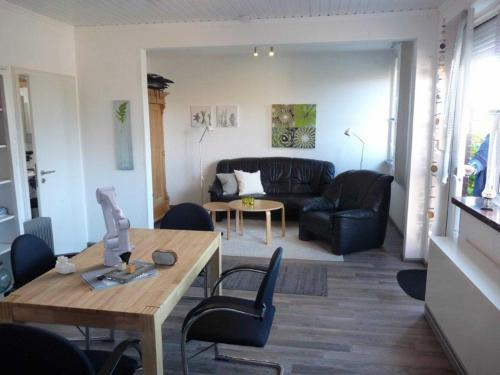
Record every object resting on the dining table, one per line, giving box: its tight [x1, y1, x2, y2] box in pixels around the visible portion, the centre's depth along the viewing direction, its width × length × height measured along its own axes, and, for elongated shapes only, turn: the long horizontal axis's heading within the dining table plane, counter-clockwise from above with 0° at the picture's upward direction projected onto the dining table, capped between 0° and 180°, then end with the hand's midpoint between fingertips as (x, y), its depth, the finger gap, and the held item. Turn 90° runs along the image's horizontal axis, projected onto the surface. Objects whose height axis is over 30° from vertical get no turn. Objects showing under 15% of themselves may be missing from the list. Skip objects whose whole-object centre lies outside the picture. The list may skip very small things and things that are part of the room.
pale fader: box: [117, 262, 126, 271], centre depth 217 cm, size 3×3×4 cm
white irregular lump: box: [55, 255, 77, 275], centre depth 218 cm, size 12×8×11 cm
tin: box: [151, 248, 179, 266], centre depth 229 cm, size 15×3×8 cm, turn 74°
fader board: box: [103, 259, 157, 284], centre depth 218 cm, size 15×23×2 cm, turn 155°
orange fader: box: [126, 264, 135, 273], centre depth 212 cm, size 3×3×4 cm
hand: (125, 265), depth 219 cm, fingers closed
